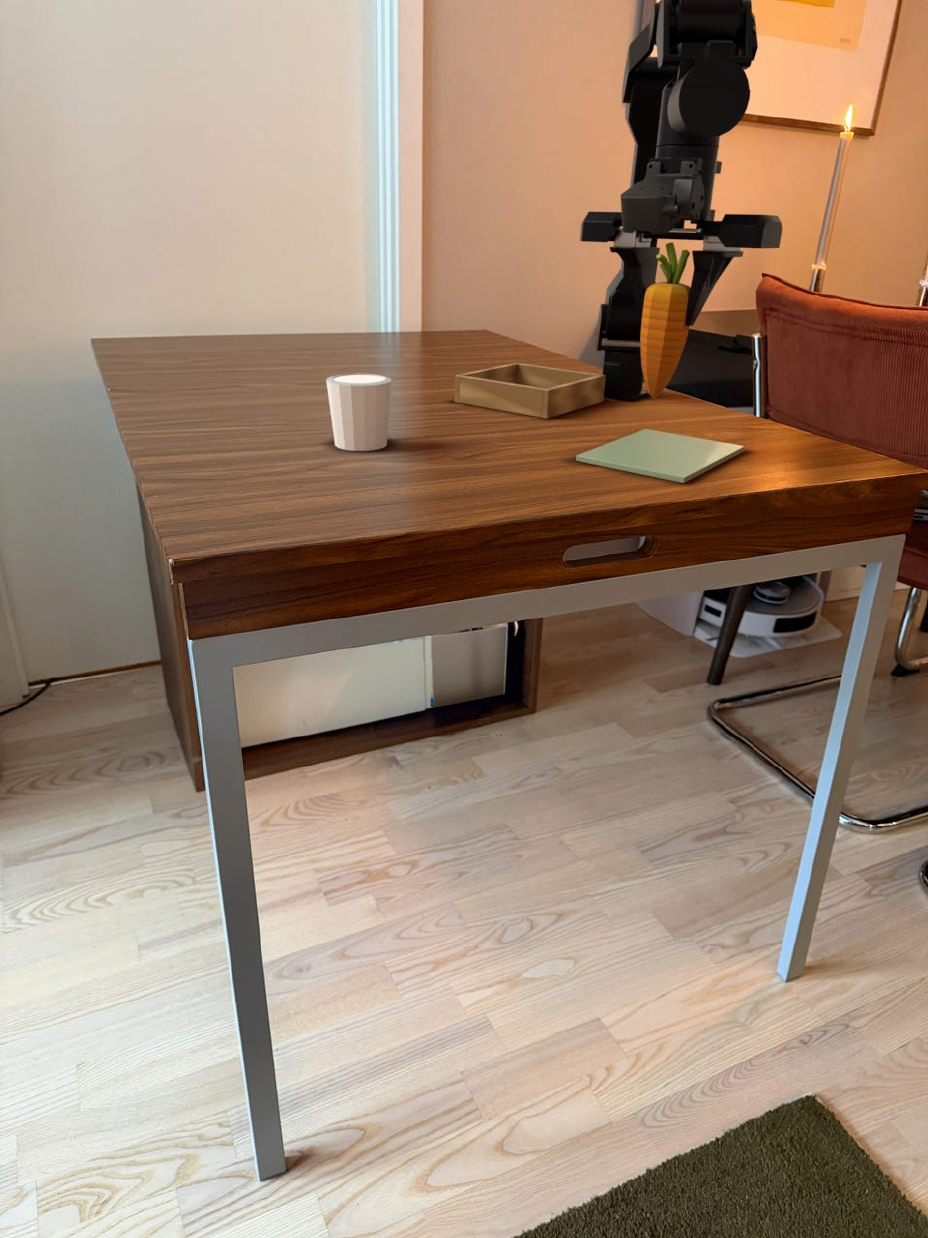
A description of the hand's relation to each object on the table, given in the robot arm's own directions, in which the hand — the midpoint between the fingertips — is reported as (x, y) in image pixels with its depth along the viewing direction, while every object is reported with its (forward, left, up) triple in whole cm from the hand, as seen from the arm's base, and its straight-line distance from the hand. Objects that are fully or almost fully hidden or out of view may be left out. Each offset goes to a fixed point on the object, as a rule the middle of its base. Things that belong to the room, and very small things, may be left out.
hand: (666, 323), depth 85 cm
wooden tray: (-13, -24, -13) cm, 31 cm away
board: (+1, +2, -13) cm, 13 cm away
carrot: (0, 0, -8) cm, 8 cm away
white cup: (+19, -25, -13) cm, 34 cm away
